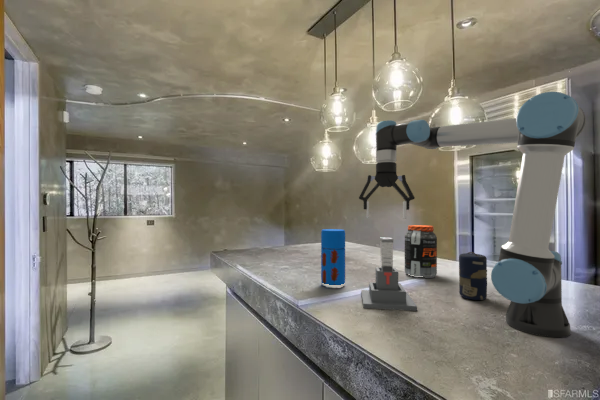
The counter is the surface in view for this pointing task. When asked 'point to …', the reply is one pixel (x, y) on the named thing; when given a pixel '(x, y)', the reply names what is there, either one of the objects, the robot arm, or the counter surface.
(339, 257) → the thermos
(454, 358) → the counter surface
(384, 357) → the counter surface
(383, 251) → the column
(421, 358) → the counter surface
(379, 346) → the counter surface
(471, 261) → the canister
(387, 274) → the base
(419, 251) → the supplement tub
